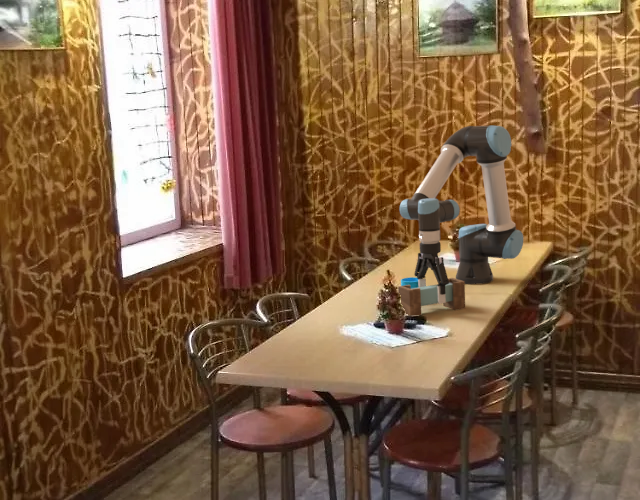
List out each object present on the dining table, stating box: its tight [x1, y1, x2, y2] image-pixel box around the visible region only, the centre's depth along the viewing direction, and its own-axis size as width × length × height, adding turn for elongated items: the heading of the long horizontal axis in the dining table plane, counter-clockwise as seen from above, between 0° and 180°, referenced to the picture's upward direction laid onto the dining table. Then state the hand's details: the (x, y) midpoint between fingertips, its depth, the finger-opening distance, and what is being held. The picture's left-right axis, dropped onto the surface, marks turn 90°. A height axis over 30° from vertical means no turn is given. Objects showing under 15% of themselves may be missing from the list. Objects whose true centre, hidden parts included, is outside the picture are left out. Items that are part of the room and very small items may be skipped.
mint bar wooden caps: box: [397, 277, 466, 316], centre depth 340 cm, size 23×8×10 cm, turn 114°
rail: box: [411, 282, 453, 307], centre depth 339 cm, size 18×4×6 cm, turn 114°
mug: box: [400, 276, 419, 288], centre depth 359 cm, size 12×8×8 cm
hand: (432, 299), depth 340 cm, fingers open, 13 cm apart
